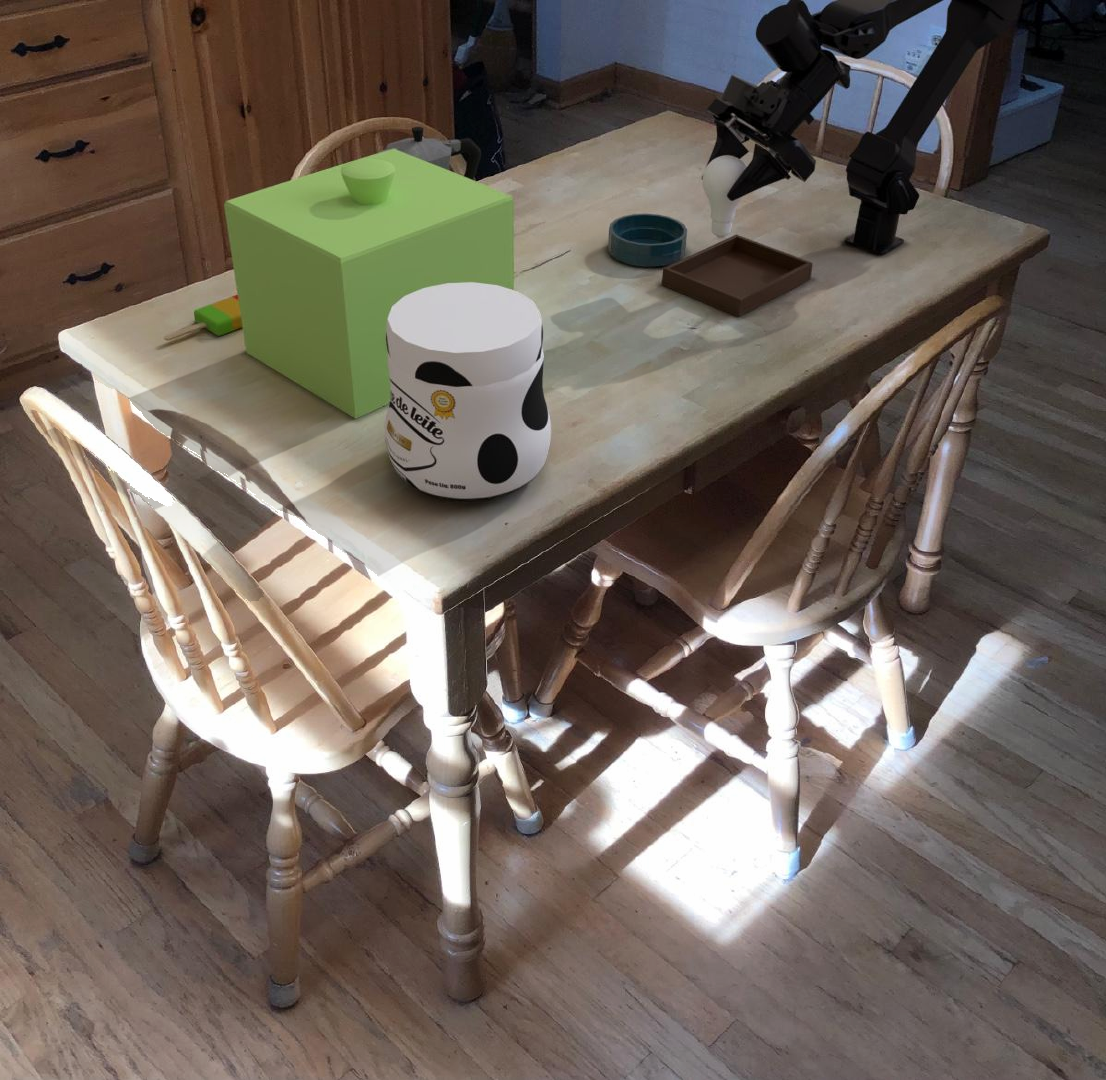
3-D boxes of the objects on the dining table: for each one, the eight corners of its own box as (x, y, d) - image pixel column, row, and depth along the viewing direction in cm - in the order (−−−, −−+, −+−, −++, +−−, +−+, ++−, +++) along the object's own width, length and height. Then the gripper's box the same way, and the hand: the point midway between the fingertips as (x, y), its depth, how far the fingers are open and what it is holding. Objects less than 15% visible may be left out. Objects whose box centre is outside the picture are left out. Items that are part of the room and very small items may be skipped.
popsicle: (280, 314, 158) (278, 300, 157) (178, 353, 149) (175, 339, 148) (255, 300, 161) (253, 287, 160) (154, 338, 152) (151, 324, 151)
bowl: (642, 230, 181) (644, 207, 179) (700, 252, 175) (702, 229, 173) (592, 251, 175) (593, 228, 173) (650, 275, 169) (652, 252, 167)
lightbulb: (724, 251, 160) (731, 169, 154) (688, 237, 164) (694, 156, 157) (752, 237, 164) (761, 157, 157) (717, 224, 167) (724, 144, 160)
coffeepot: (388, 274, 168) (379, 144, 157) (369, 247, 175) (359, 121, 164) (493, 257, 173) (492, 130, 162) (471, 232, 179) (468, 108, 169)
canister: (403, 289, 164) (392, 117, 150) (514, 344, 152) (513, 163, 138) (246, 352, 150) (218, 168, 136) (355, 419, 138) (337, 224, 124)
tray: (734, 250, 176) (736, 234, 174) (810, 279, 169) (813, 262, 167) (661, 285, 167) (662, 267, 165) (738, 317, 159) (740, 299, 158)
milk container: (359, 494, 126) (343, 339, 115) (429, 413, 139) (421, 266, 128) (515, 531, 122) (514, 373, 111) (572, 443, 135) (577, 293, 124)
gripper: (726, 32, 157) (645, 129, 160) (808, 73, 144) (718, 179, 147) (770, 86, 165) (693, 178, 168) (852, 131, 151) (767, 230, 155)
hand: (716, 190), depth 159 cm, fingers closed on lightbulb, 6 cm apart
